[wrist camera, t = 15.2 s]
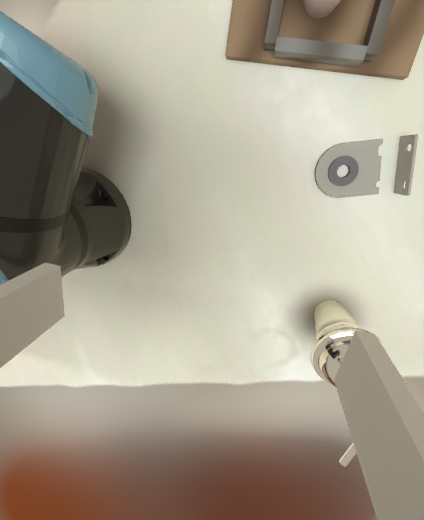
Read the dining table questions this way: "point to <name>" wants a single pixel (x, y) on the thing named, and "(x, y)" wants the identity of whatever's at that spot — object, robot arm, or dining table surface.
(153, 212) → the dining table surface
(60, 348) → the dining table surface
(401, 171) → the grey arched plates
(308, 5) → the smoothie
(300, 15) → the keeper board
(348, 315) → the domed lid cup
